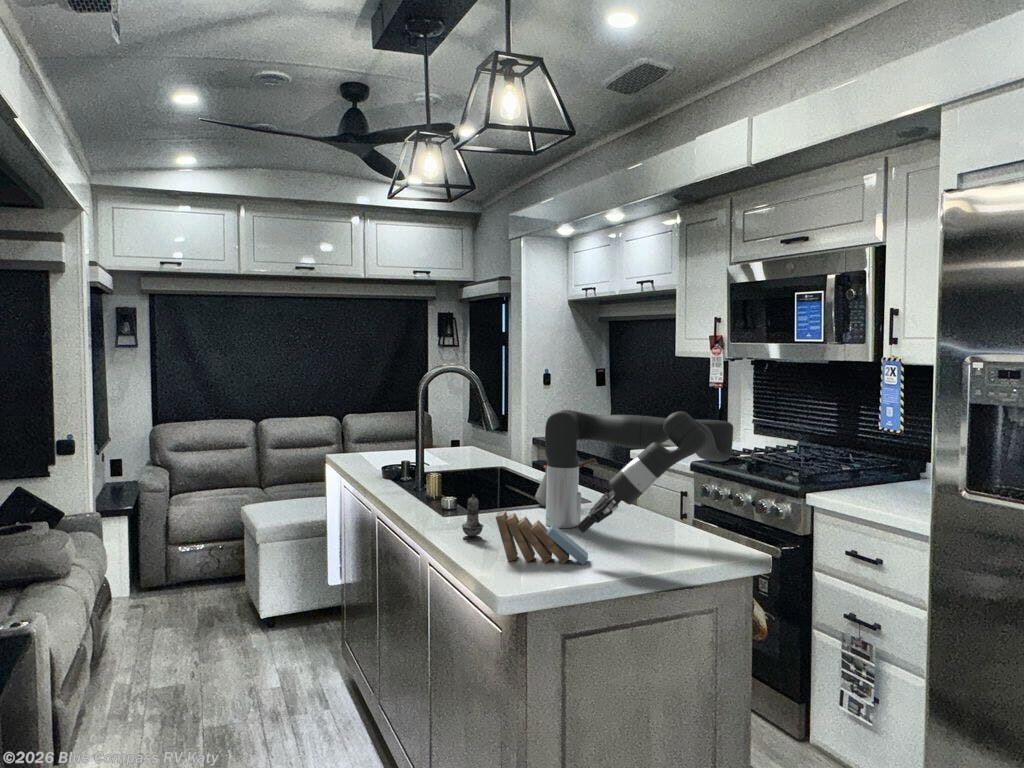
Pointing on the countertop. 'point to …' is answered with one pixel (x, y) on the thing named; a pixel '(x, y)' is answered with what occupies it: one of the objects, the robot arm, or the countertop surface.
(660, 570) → the countertop surface
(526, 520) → the domino
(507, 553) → the domino
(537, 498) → the coffee pot
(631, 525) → the countertop surface
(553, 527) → the blue domino
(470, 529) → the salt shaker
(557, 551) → the domino
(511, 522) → the domino
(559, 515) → the robot arm
